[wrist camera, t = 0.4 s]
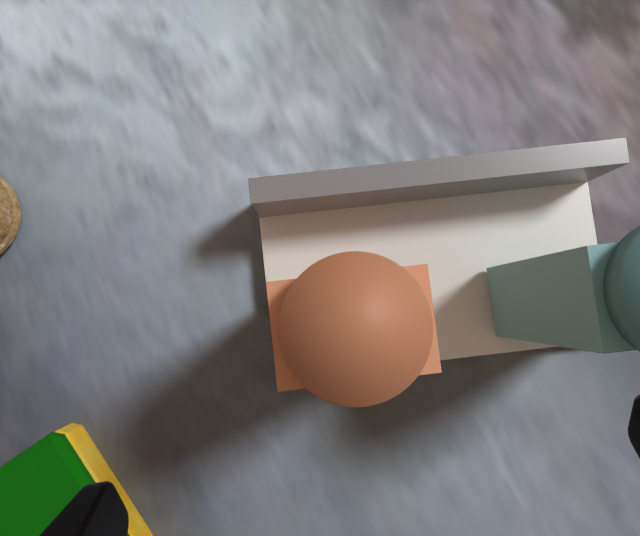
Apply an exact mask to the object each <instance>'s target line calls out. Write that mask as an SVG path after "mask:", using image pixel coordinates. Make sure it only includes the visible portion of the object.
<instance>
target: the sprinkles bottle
mask: <svg viewBox="0 0 640 536" xmlns="http://www.w3.org/2000/svg"><path fill="white" fill-rule="evenodd" d="M21 216H22V215H21V209H20V205H19V200H18V198H17V195H16V193H15V191H14V190H13V188H12V187H11V186H10V185H9V183H8V182H7V181H5V180H4V179H2V178H1V177H0V255H1V254H2V253H4V252H5V251H6V249H7V248H8V247H9V246H10V245H11V244H12V242H13V241H14V239H15V237H16V235H17V232H18V229H19V227H20V221H21Z"/></svg>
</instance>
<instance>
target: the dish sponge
mask: <svg viewBox="0 0 640 536" xmlns="http://www.w3.org/2000/svg"><path fill="white" fill-rule="evenodd" d="M103 481H110V482H111V483H113V485H114V486H115V488H116V490H117V492H118V493H119V495H120V497H121V499H122V501H123V503H124V505H125V507H126V509H127V511H128V516H129V526H128V534H127V536H153V534H152V533H151V531H150V530H149V528H148V526H147V525H146V523H145V522H144V520H143V519H142V517H141V516H140V514H139V513H138V511H137V509H136V508H135V506H134V505H133V503H132V502H131V500H130V499H129V497H128V495H127V494H126V492H125V491H124V489H123V488H122V486H121V485H120V483H119V481H118V480H117V478H116V477H115V475H114V474H113V472H112V471H111V469H110V467H109V466H108V464H107V463H106V461H105V460H104V458H103V457H102V455H101V453H100V452H99V450H98V449H97V447H96V446H95V444H94V443H93V441H92V439H91V438H90V436H89V435H88V433H87V432H86V430H85V429H84V427H83V425H79V424H74V423H71V424H69V425H67V426H65V427H63V428H61V429H59V430H57V431H55V432H52V433H50V434H48V435H47V436H46V437H44V438H43V439H41V440H40V441H38V442H37V443H35V444H34V445H32V446H31V447H29V448H28V449H27V450H25V451H24V452H22V453H21V454H19V455H18V456H16V457H15V458H13V459H12V460H10V461H9V462H8V463H6V464H5V465H3V466H2V467H0V536H39V535H40V534H41V533H42V532H43V531H44V530H45V529H46V528H47V526H48V525H49V524H50V523H51V522H52V521H53V520H54V519H55V517H56V516H57V515H58V514H59V513H60V512H61V511H62V510H63V509H64V507H65V506H66V505H67V504H68V503H69V502H70V501H71V500H72V499H73V497H74V496H75V495H76V494H77V493H78V492H79V491H80V490H81V489H82V488H83V487H84V486H85V485H87V484H91V483H97V482H103Z"/></svg>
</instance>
